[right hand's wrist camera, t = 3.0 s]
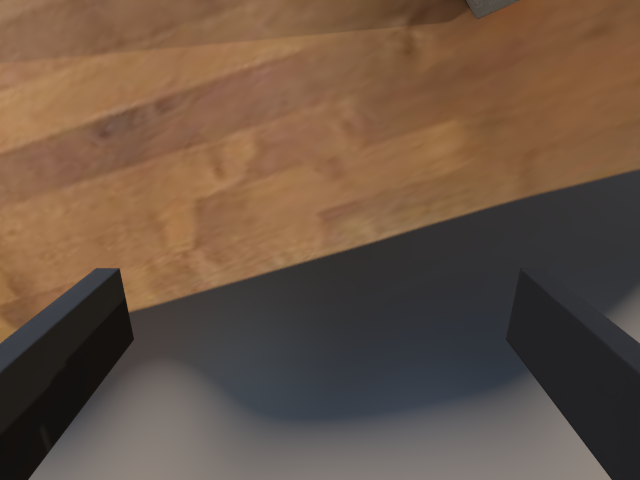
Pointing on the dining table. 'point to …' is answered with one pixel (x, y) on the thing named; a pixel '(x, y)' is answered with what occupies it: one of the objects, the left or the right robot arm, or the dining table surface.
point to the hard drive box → (487, 6)
